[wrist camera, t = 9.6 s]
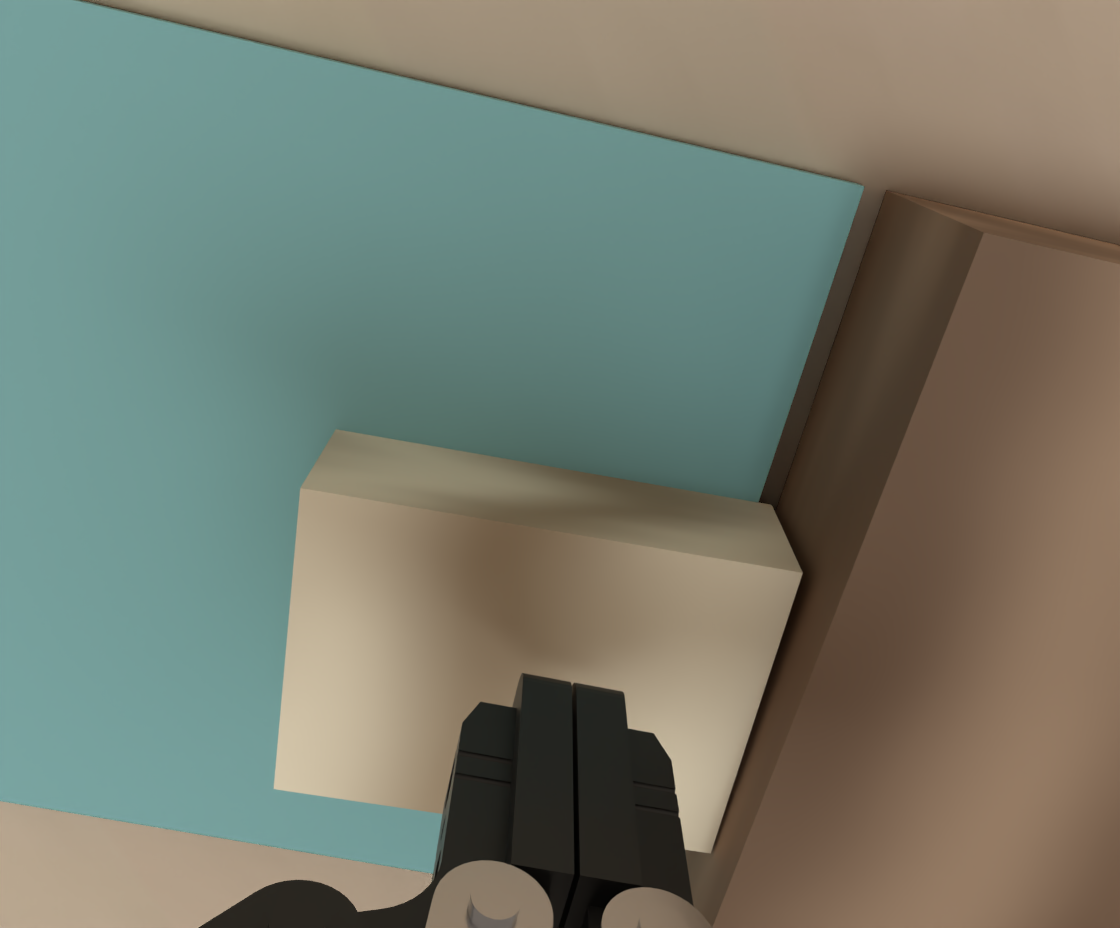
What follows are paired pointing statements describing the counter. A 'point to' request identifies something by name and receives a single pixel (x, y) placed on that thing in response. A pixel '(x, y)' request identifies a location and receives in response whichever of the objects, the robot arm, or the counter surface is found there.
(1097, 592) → the walnut step
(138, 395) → the teal mat
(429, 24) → the counter surface
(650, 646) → the ash tile
